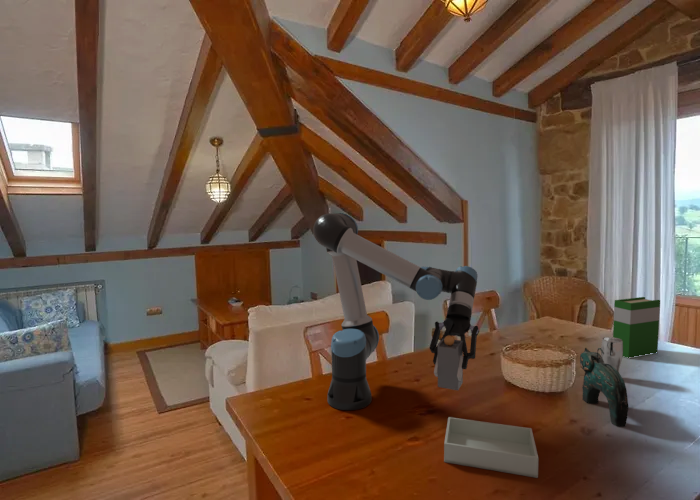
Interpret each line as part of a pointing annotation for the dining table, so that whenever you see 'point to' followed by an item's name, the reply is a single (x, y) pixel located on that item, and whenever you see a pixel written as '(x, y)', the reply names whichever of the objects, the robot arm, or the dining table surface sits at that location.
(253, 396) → the dining table surface
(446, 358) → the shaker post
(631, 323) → the hardback book
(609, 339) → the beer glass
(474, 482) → the dining table surface
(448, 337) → the ball
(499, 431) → the tray
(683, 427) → the dining table surface
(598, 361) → the teal animal figurine
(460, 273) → the robot arm
